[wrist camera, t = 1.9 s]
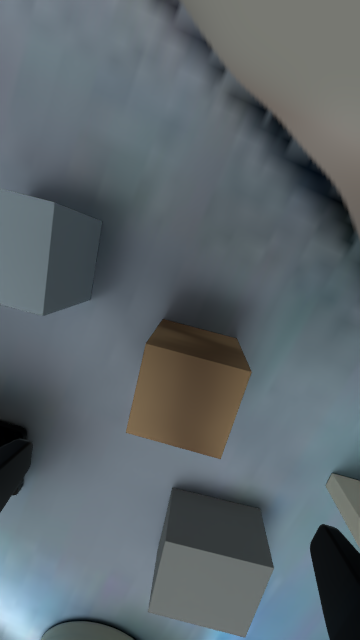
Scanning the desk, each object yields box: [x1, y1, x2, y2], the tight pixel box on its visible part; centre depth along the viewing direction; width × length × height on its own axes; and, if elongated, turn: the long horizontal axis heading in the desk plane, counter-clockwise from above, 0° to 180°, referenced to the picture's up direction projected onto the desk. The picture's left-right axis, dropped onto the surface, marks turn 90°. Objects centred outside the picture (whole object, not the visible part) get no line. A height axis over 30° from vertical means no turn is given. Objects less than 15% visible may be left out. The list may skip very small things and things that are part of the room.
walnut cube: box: [126, 319, 251, 459], centre depth 14 cm, size 5×5×5 cm
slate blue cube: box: [0, 189, 102, 316], centre depth 13 cm, size 5×5×5 cm
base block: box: [148, 488, 274, 637], centre depth 18 cm, size 7×7×4 cm
